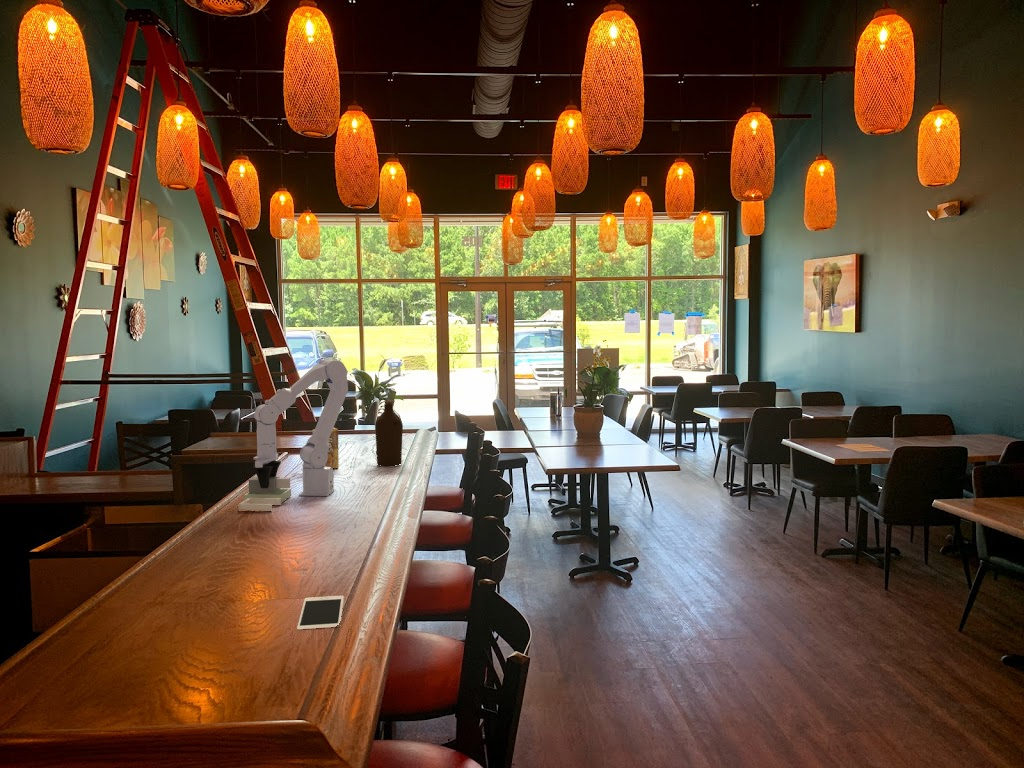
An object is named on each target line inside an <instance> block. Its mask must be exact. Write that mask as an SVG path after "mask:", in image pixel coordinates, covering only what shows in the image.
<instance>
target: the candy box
mask: <svg viewBox="0 0 1024 768" xmlns="http://www.w3.org/2000/svg"><path fill="white" fill-rule="evenodd" d="M314 431H315V428H314V429H312V433H311V436H312V435H313V433H314ZM328 442H329V450H328V460H327V462H326V463H325V466H327V467H332V468H337V469H339V463H340V461H339V460H340V459H339V428H336V427H333V430H332V432H331V435H330V437H329V440H328Z"/></svg>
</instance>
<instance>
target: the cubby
mask: <svg viewBox="0 0 1024 768" xmlns="http://www.w3.org/2000/svg"><path fill="white" fill-rule="evenodd" d="M250 503H254V504H250ZM272 504H273V505H282V503H281V498H248V499H246V500H243V501H240V503H238V504H237V505H238V507H237V508H238V509H247V510H264V511H272V512H273V506H272Z"/></svg>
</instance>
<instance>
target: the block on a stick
mask: <svg viewBox="0 0 1024 768" xmlns="http://www.w3.org/2000/svg"><path fill="white" fill-rule="evenodd" d="M280 489H291V478H290V477H280V476H276V477H269V486H268V488H261V487H260V484H259V480H258V477H257V476H254V477H251V478H249V479H248V492H249V493H275V492H276V491H278V490H280Z"/></svg>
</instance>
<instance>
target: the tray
mask: <svg viewBox="0 0 1024 768" xmlns="http://www.w3.org/2000/svg"><path fill="white" fill-rule="evenodd" d="M290 496H291V497H292V489H291V488H280V490H278V491H276V492H275V493H249V491H248V492H246V493H245V494H243V499H244V500H246V499H248V498H281V502H283V501H284V500H285V499H287V498H288V499H290V498H291V497H290ZM289 497H290V498H289ZM288 499H287V500H288ZM244 500H243V501H244ZM284 502H285V501H284ZM284 502H283V503H284Z"/></svg>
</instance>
